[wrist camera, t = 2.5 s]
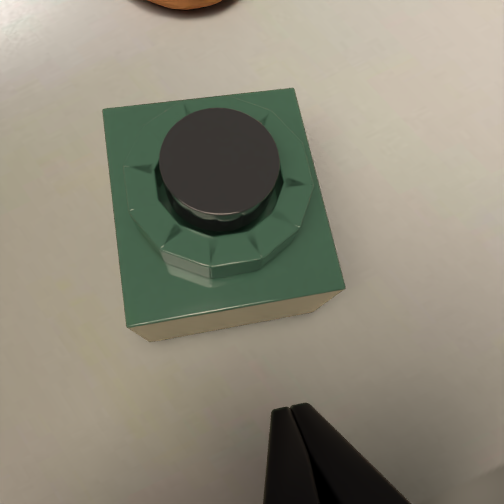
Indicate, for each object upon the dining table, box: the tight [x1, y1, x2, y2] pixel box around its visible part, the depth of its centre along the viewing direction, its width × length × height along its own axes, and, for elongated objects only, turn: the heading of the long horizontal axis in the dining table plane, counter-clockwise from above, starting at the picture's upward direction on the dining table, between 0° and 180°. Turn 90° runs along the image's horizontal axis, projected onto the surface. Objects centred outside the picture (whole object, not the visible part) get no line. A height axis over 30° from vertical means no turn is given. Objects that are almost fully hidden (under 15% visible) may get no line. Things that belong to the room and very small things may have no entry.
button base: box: [102, 88, 345, 342], centre depth 21 cm, size 10×9×8 cm
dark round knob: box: [159, 108, 280, 232], centre depth 16 cm, size 4×4×2 cm
